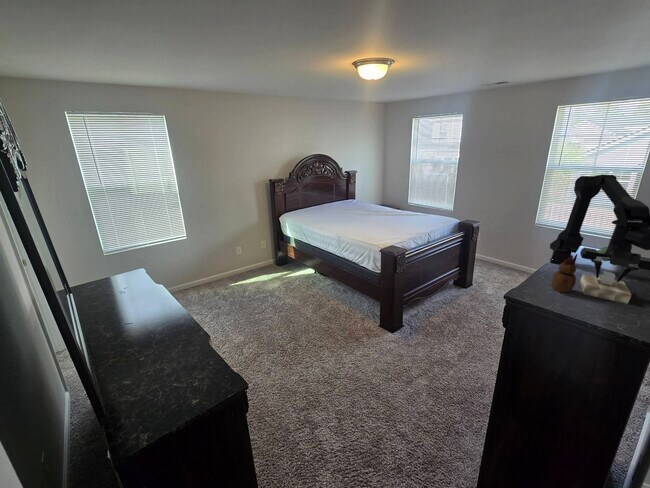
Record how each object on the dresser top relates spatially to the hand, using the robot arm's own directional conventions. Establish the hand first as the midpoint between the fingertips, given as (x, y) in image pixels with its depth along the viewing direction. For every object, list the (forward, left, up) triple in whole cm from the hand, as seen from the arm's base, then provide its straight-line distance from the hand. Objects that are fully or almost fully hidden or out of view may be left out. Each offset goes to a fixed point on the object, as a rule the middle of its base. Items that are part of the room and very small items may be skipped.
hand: (606, 279), depth 111 cm
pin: (0, 0, -6) cm, 6 cm away
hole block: (0, 0, -6) cm, 6 cm away
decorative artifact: (+8, +46, -6) cm, 47 cm away
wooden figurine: (-13, -7, -6) cm, 16 cm away
